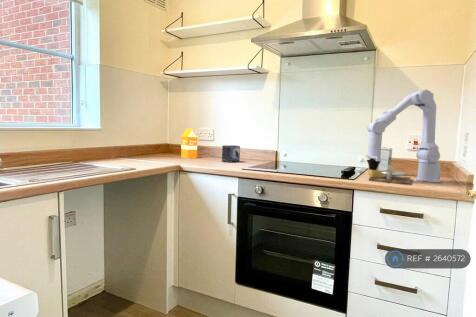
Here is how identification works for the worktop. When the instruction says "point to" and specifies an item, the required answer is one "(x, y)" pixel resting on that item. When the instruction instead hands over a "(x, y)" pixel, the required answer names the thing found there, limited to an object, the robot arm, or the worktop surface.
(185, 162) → the worktop surface
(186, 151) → the orange juice
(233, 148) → the small box
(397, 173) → the small silver pan
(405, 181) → the post board
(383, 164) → the syrup box
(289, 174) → the worktop surface
